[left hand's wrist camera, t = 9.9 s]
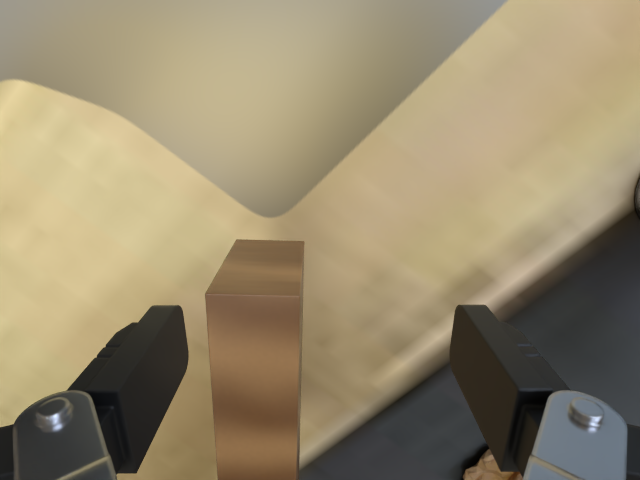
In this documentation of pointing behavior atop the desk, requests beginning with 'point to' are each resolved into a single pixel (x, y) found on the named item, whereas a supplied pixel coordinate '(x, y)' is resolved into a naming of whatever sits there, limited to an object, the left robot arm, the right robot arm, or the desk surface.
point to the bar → (257, 359)
